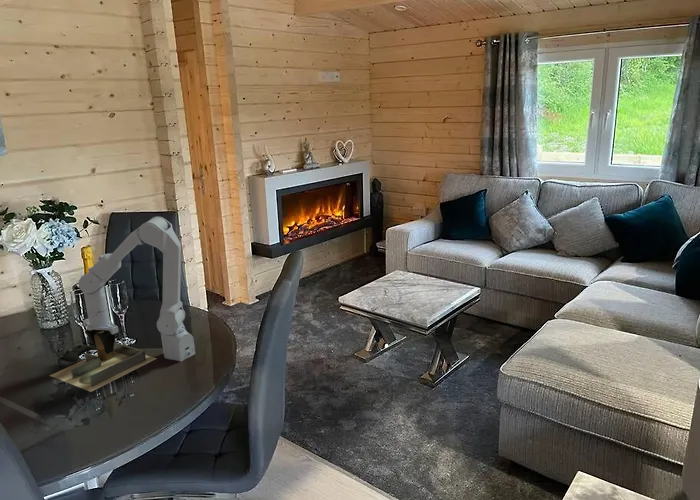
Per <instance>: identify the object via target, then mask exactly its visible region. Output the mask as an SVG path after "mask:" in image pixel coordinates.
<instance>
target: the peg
mask: <svg viewBox="0 0 700 500" xmlns="http://www.w3.org/2000/svg"><path fill="white" fill-rule="evenodd" d="M103 332H104V331H103ZM100 333H102V332H99V333H96V334H95V335H94V338H95V344H96V349H97V350H96V349H95V350H96V352H97V354H98V357H100V361H107V360H110V359H112V358H113V357H114V354H113V352H111V353H109V354H107V353H106V352H105V349H104V346H103V343H102V341H101V339H100V338H99V336H98V334H100ZM97 354H96V355H97Z"/></svg>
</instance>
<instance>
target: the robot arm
mask: <svg viewBox="0 0 700 500" xmlns="http://www.w3.org/2000/svg"><path fill="white" fill-rule="evenodd" d="M144 244H147V245H150V246H152V247H154V248H155V249H156V248H157V249H158V250H159V251H160V252H162V305H161V307H160V310H159V318H158V319H157V321H156V329H157V330H158V332H159V333H160V337H161V344H162V351H163V357H164V358H165V359H167V360H173V361H178V362H183V361H185V360H187V359H189V358H190V357H192V356H194V355H196V348H195V347H196V346H195V340H194V339H195V338H194V336H193V335H192V334H191V333H189V331H187V330H186V326H185V325H184V323H183V322H184V321H185V319H186V312H185V310H184V308H183V301H181V277H182V276H181V275H182V272H181V271H182V243H181V242H180V240H179V238H178V236H177V234H176V232H175V230H174V229H173V224H172V223H171V222H170V221H168V220H167V219H166V218H164V217H162V216H153V217H151V218H150V219H149V220H148V221H146V222H144V223H142V224H141V225H140V226H139V227H138V228H136V229H134V230H133V231H132V232H131V233H129V235H128V236H126V238H125V239H124V240H123V241H122V242H121V243H120V244H119V246H118V247H117V248H116V249H115V250H114V251H113V252H111V253H105V254H101V255H100V256H99V257H98V258H97V259H98V260H97V262H96V263H95V264H94V265H93V266H90V267H89V268H87V271H88V272H87V273H85V274H82V275H81V276H80V278H79V279H78V284H77V285H78V288H79V289H80V291H82V292H83V296H84V301H85V308H86V313H87V318H86V319H83V320H82V322H83V327H86V329H85V330H84V333H85V334H86V335H87V336H88V338H89V339H90V340H91V343H92V344H93V346H94V347H95V350H96V351H97V349H96V344H95V338H94V335H95V334H96V333H99V332H102V333H100V334H98V336H99V338H100V339H101V341H102V343H103V346H104V349H105V352H106V353H107V354H109V353H111V352H113V350H114V342H116V337H117V335H118V334H119V327H118V325H115V324H114V323H113V321H111V320H110V315H109V307H108V303H107V296H106V289H105V286H106V284H107V281H108V280H110V278H112V276H113V275H114V274H115V273H117V271H119V269H121V267H122V260H123V259H124V258H125V257H126V256H127V255H129V253H130V252H131V251H132V250H134V248H136V247H137V246H139V245H140V246H142V245H144ZM103 331H104V332H103Z"/></svg>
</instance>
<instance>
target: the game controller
mask: <svg viewBox="0 0 700 500" xmlns="http://www.w3.org/2000/svg"><path fill="white" fill-rule="evenodd" d="M94 350H96V349H95V347H94V345H87V344H84V345H83V344H79V345H75V346H73V347H72V348H70V349H67V350H66V351H65V352H64V353H63V354H62V357H63V359H64V360H66V361H69V362H78V361H79V360H80V359H79V355H80V354H82V352H89V351H94Z"/></svg>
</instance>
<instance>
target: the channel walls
mask: <svg viewBox="0 0 700 500" xmlns="http://www.w3.org/2000/svg"><path fill="white" fill-rule="evenodd" d="M113 351H115V352H118V353H121V354H124V355H127V356H131V357H129V358H127V359H125V360H123V361H121V362H119V363H117V364H115V365H112V366H110V367H108V368H106V369H104V370H102V371H100V372H98V373H96V374H94V375H92V376H90V381H91V386H92V387H93V386H95V385H97V384H99V383H101V382H103V381H105V380H107V379H109V378H111V377H113V376H115V375H117V374H119V373H121V372H123V371H125V370H127V369H129V368H131V367H133V366H135V365H137V364H139V363H141V362H143V361H145V360H146V357H145V355H146V352H145V350H142V349H139V348H136V347H134V346H133V347H132V346H129V345H125V344H122V343H119V342H116V341H115V342H114V350H113ZM95 355H96V354H95ZM95 355H94V354H91V353H88V352H85V353H84V360H86V363H84V364H82V365H79V366H77V367H75V368H73V369H71V374H72V379H76V378H78V377H80V376H82V375H84V374H86V373H88V372H90V371H93V370H95V369H97V368H99V367H101V361H100V357H98V356H95Z"/></svg>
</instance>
